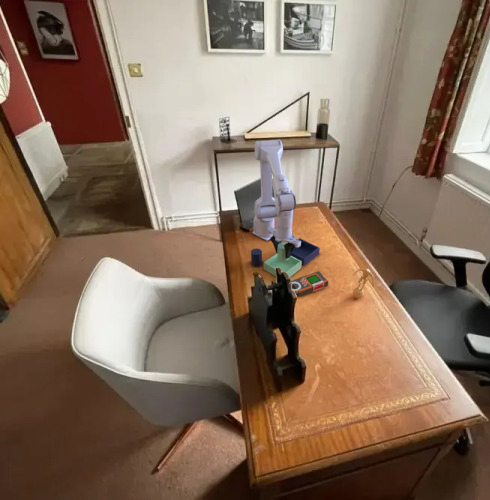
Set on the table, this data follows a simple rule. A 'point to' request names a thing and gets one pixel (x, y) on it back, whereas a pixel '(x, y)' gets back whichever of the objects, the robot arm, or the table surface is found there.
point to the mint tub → (282, 265)
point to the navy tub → (305, 252)
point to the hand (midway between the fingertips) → (283, 254)
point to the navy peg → (256, 257)
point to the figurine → (358, 291)
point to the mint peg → (281, 252)
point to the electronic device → (309, 283)
